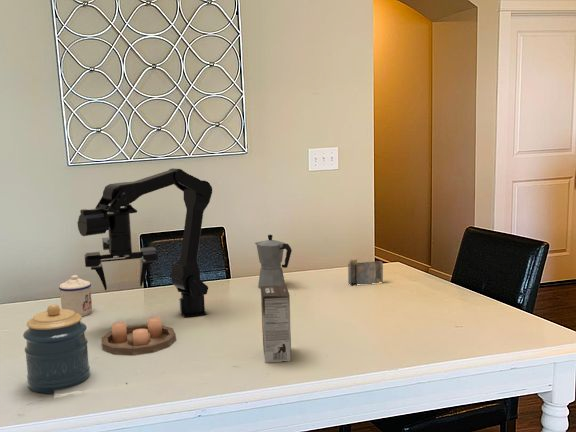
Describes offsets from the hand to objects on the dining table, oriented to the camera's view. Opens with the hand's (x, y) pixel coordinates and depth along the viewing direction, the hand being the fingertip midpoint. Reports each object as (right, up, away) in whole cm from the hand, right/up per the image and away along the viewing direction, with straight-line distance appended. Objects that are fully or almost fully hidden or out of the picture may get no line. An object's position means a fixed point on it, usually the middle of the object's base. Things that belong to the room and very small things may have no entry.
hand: (123, 287), depth 170 cm
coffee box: (+42, -14, -20) cm, 48 cm away
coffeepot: (+40, -5, +43) cm, 59 cm away
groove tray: (+7, -13, -10) cm, 18 cm away
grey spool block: (+71, -4, +44) cm, 83 cm away
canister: (-6, -17, -32) cm, 37 cm away
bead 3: (+10, -12, -6) cm, 17 cm away
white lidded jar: (-19, -10, +20) cm, 29 cm away
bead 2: (+8, -13, -15) cm, 21 cm away
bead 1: (+1, -13, -9) cm, 15 cm away
